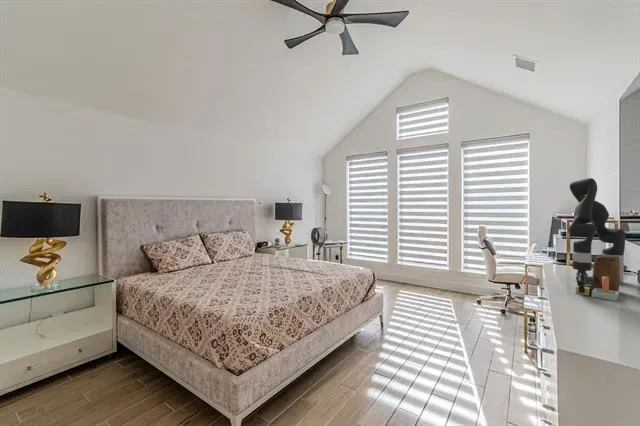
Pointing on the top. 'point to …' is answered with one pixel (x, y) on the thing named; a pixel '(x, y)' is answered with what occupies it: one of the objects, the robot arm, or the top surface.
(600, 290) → the tray
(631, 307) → the top surface
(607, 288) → the pin
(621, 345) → the top surface
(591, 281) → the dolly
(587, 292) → the block
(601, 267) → the brown rounded block
